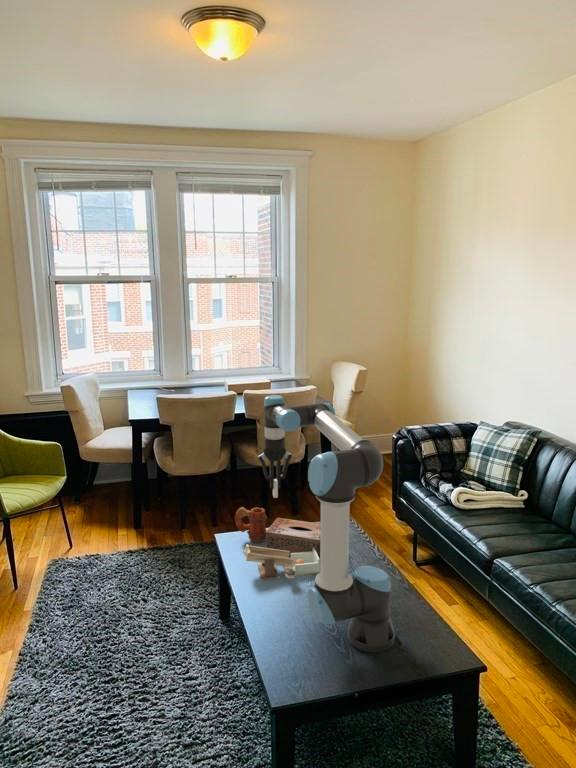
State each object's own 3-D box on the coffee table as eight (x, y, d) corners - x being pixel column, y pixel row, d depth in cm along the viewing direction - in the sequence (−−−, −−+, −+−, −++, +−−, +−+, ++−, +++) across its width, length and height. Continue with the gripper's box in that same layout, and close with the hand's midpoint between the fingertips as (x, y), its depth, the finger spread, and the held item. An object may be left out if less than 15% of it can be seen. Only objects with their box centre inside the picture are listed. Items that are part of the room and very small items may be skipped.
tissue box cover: (266, 553, 236) (265, 531, 234) (277, 538, 249) (277, 517, 247) (325, 563, 228) (325, 540, 226) (333, 547, 241) (334, 525, 239)
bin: (319, 573, 220) (319, 559, 219) (293, 576, 218) (293, 562, 217) (314, 561, 229) (314, 547, 228) (288, 563, 227) (288, 550, 226)
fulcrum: (278, 578, 217) (278, 561, 215) (260, 580, 216) (260, 562, 214) (274, 564, 227) (274, 548, 225) (257, 566, 226) (257, 549, 224)
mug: (269, 536, 251) (269, 504, 248) (267, 545, 243) (266, 512, 240) (237, 535, 252) (236, 503, 249) (234, 543, 244) (233, 511, 241)
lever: (295, 578, 210) (297, 570, 210) (248, 572, 206) (250, 563, 206) (287, 557, 225) (289, 550, 225) (244, 551, 221) (246, 543, 221)
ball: (305, 568, 222) (304, 560, 221) (297, 570, 221) (295, 562, 221) (304, 564, 225) (302, 556, 224) (295, 566, 225) (294, 558, 224)
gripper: (290, 433, 213) (290, 491, 218) (256, 435, 211) (257, 493, 216) (293, 438, 206) (294, 498, 211) (258, 440, 204) (259, 501, 209)
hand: (275, 496), depth 213 cm, fingers closed
